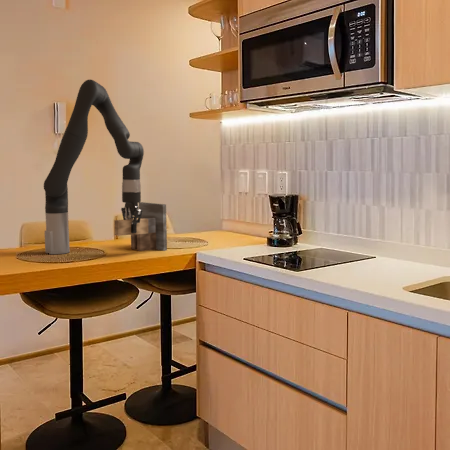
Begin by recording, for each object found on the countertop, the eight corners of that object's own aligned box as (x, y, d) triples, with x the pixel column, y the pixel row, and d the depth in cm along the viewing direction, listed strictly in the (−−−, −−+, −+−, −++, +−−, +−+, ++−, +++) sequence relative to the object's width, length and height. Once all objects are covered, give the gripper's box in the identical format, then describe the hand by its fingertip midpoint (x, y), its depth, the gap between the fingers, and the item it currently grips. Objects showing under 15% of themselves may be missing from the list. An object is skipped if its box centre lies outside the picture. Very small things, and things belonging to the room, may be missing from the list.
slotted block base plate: (148, 252, 229) (146, 205, 226) (124, 247, 244) (123, 203, 242) (166, 250, 235) (166, 204, 232) (142, 245, 250) (141, 202, 248)
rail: (118, 235, 217) (117, 220, 216) (114, 234, 219) (114, 220, 219) (156, 232, 228) (156, 218, 228) (152, 231, 231) (152, 217, 230)
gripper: (115, 190, 224) (115, 231, 226) (131, 191, 213) (132, 235, 215) (131, 189, 229) (131, 230, 230) (148, 191, 218) (148, 233, 219)
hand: (131, 232), depth 223 cm, fingers closed on rail, 3 cm apart
